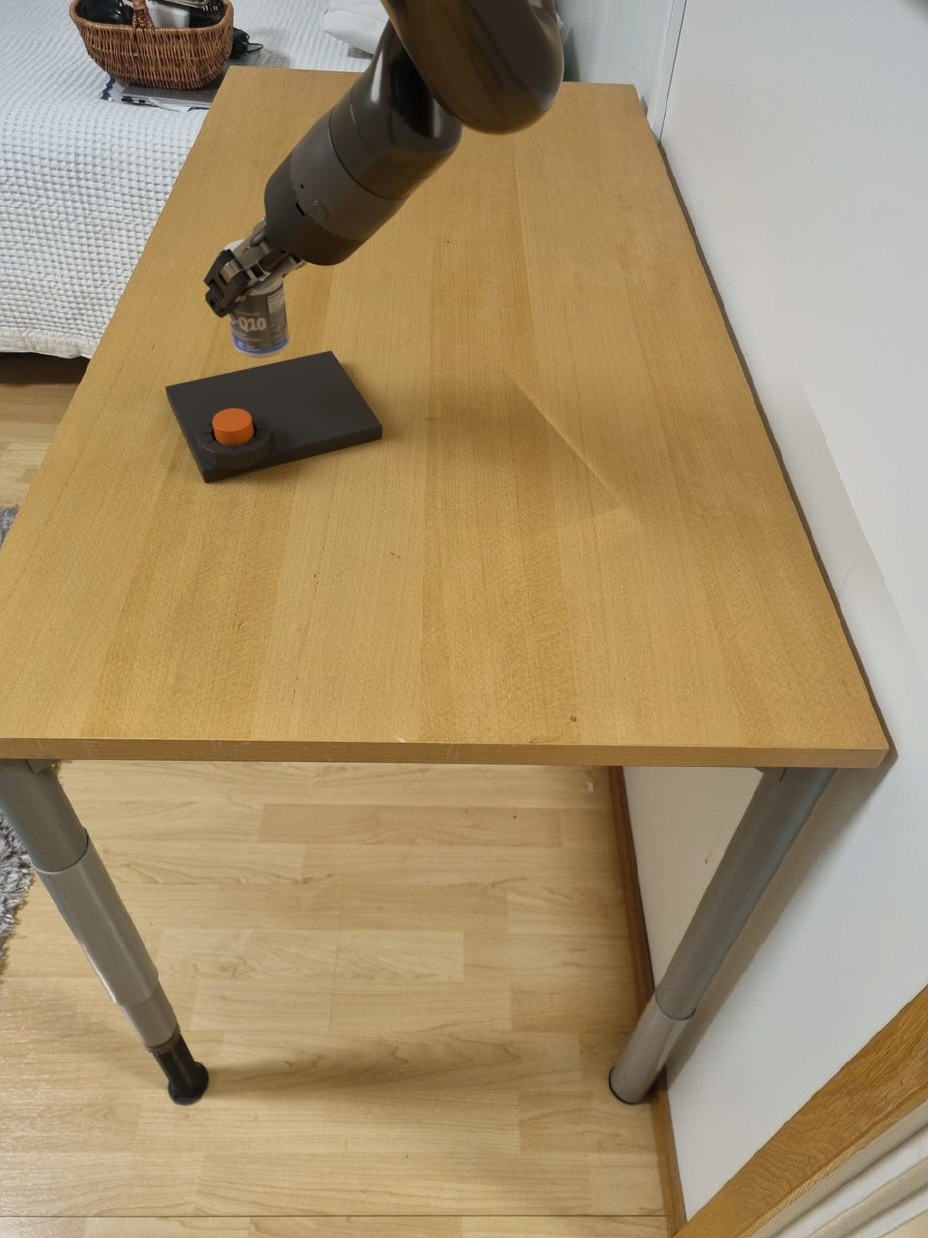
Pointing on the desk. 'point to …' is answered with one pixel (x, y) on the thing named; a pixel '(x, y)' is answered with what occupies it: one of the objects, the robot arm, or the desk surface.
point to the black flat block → (274, 414)
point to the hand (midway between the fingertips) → (238, 292)
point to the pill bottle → (260, 320)
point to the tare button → (233, 426)
